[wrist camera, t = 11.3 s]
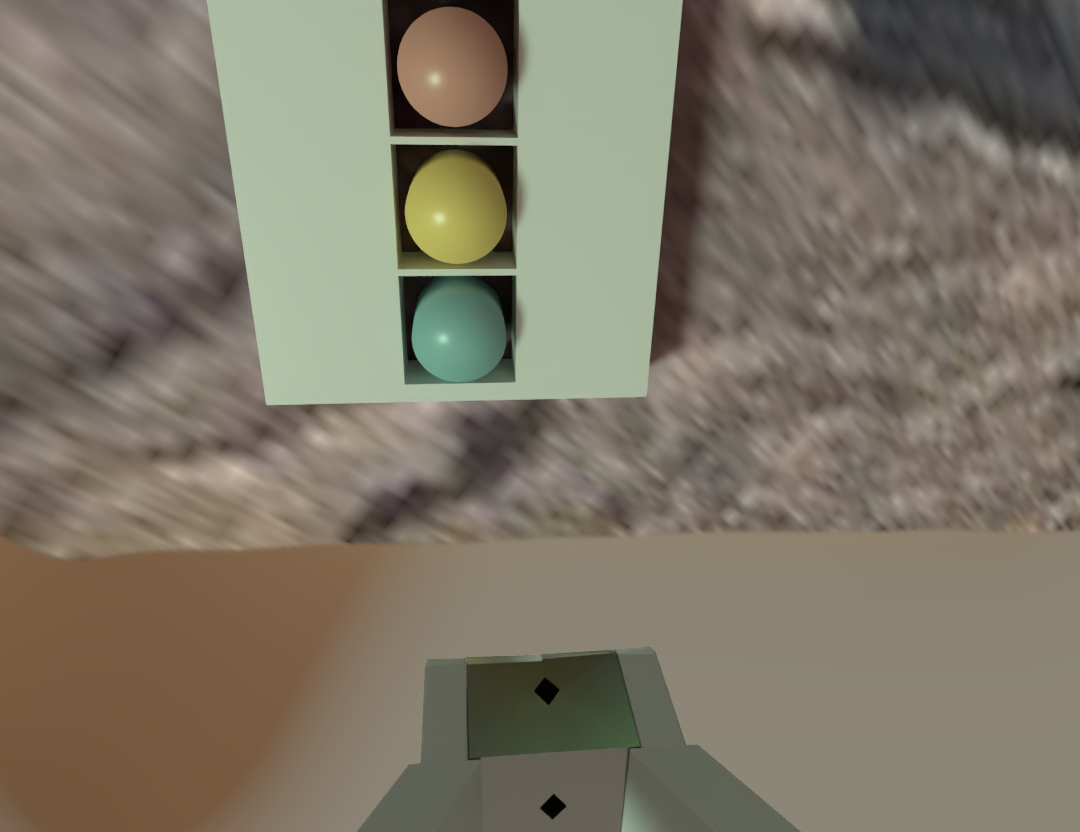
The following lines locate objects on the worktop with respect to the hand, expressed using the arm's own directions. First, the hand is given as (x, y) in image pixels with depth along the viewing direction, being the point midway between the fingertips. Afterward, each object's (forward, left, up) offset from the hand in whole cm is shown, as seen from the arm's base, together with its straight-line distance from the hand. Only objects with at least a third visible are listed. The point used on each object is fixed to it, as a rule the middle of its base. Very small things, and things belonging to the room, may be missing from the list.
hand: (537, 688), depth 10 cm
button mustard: (+1, -1, -29) cm, 29 cm away
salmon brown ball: (+1, -6, -29) cm, 29 cm away
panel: (+1, -1, -29) cm, 29 cm away
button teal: (+1, +5, -29) cm, 29 cm away
